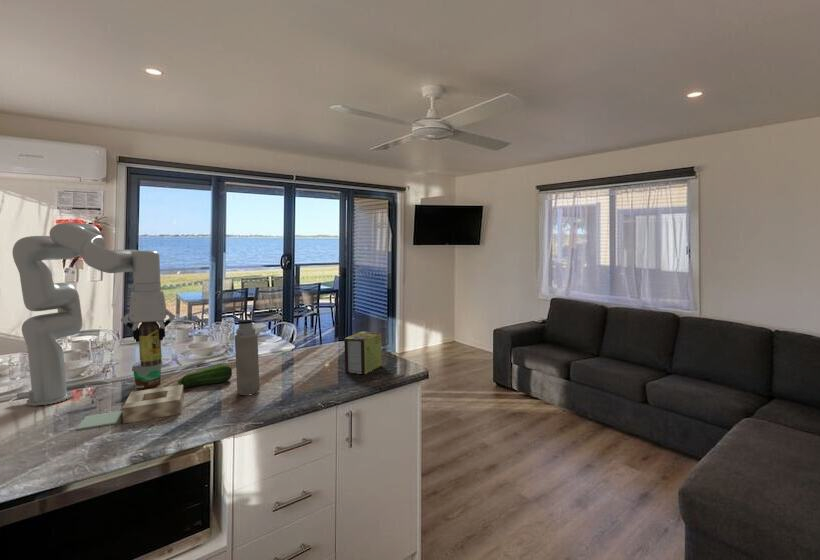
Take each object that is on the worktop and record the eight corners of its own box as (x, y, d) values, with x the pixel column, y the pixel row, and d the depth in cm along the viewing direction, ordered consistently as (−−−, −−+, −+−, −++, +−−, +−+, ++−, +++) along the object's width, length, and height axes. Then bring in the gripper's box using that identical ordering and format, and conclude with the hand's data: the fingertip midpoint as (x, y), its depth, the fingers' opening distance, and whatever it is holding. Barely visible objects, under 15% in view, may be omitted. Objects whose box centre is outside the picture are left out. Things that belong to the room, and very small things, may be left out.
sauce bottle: (156, 367, 135) (152, 308, 133) (136, 368, 134) (132, 309, 132) (165, 361, 141) (161, 305, 139) (146, 362, 141) (142, 306, 138)
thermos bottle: (249, 387, 160) (246, 317, 158) (264, 390, 157) (261, 319, 154) (232, 394, 153) (229, 321, 150) (248, 397, 150) (244, 322, 147)
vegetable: (231, 362, 166) (175, 368, 158) (232, 379, 164) (175, 387, 156) (232, 365, 172) (178, 372, 165) (232, 382, 170) (178, 390, 162)
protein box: (381, 365, 187) (381, 332, 186) (364, 375, 173) (364, 340, 172) (362, 363, 192) (361, 330, 190) (344, 372, 178) (343, 338, 176)
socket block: (123, 423, 128) (122, 408, 128) (132, 405, 143) (131, 391, 142) (180, 413, 135) (180, 399, 135) (183, 397, 150) (183, 384, 149)
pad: (76, 430, 124) (76, 428, 124) (85, 417, 133) (85, 416, 133) (116, 423, 128) (116, 422, 128) (122, 411, 137) (122, 410, 137)
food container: (146, 392, 156) (144, 366, 155) (133, 391, 157) (131, 365, 156) (171, 381, 168) (169, 357, 167) (158, 380, 169) (157, 357, 168)
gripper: (113, 290, 128) (116, 345, 130) (176, 288, 136) (178, 340, 137) (118, 287, 135) (121, 340, 137) (178, 285, 142) (179, 335, 144)
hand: (149, 339), depth 137 cm, fingers closed on sauce bottle, 6 cm apart
